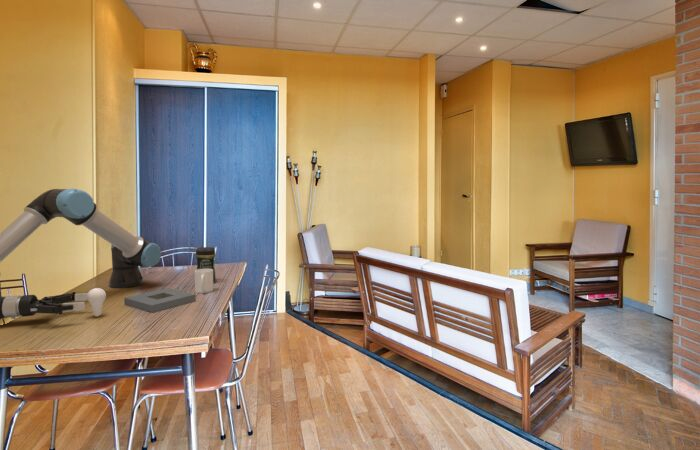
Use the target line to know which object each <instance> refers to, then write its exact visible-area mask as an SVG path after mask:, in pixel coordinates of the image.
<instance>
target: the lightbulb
mask: <svg viewBox="0 0 700 450" xmlns="http://www.w3.org/2000/svg"><path fill="white" fill-rule="evenodd" d="M87 293H88V295H87V299H88V300H87V301H88V303H89V304H90V306H91V309H92V312H93V316H94V317H98V318H99V317H100V316H102V309H103V305H104V302H105V300H106V298H107V293H106V291H105V290H104V289H102V288H100V287H95V288H92V289H90V290H89V291H88V292H87Z"/></svg>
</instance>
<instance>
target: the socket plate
mask: <svg viewBox="0 0 700 450" xmlns="http://www.w3.org/2000/svg"><path fill="white" fill-rule="evenodd" d="M196 294H197V293H196ZM196 294H195V293H192V292H187V291H181V290H177V289H173V288H168V287H166V288H162V289H158V290H154V291H150V292H145V293H140V294H135V295H132V296H127V297H124V298H123V299H124V302H123V303H124V306H127V307H131V308H135V309H137V310H141V311H144V312H148V313H150V314H151V313H152V314H153V313H157V312H161V311H163V310H164V311H166V310H168V309H172V308H175V307H178V306H182V305H186V304H190V303H194V302H196V301H197V300H196V299H197V297H196Z"/></svg>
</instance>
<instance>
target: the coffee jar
mask: <svg viewBox="0 0 700 450" xmlns="http://www.w3.org/2000/svg"><path fill="white" fill-rule="evenodd" d="M195 258H196V264H197V265H196V270H197V269H213V284H214V283H216V280H217V279H216V269H215V258H216V250H215V248H214V247H213V246H212V247H210V246H209V247H208V246H207V247H203V246H202V247H197V248H196V250H195Z"/></svg>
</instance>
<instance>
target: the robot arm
mask: <svg viewBox="0 0 700 450" xmlns="http://www.w3.org/2000/svg"><path fill="white" fill-rule="evenodd" d="M55 218H63V219H66V220H67V221H68V222H70V223H72V224H73V225H74V226H81V225H82V226H83V227H85V228H86V229H88V231H89V230H90V231H91V232H92V233H94V234H96V235H97V236H98V237H100V238H101V239H103V240H105V242H108V243H109V244H111V245H110V246H111V248H110V250H111V265H112V266H111V267H112V271H111V274H110V278H109V282H108V285H109V287H110V288H115V289H120V288H121V289H123V288H133V287H137V286H140V285H143V284H144V278H143V276H142V272H141V271H140V269H139V267H144V268H152V267H154V266H156V265H157V264H159V262H160V260H161V258H162V250H161V247H160V246H159V245H158V244H157V243H155V242H149V241H147V240H146V239H144V237H142V236H138V235H137V236H135V235H133V234H132V233H131V232H129V231H128V230H127V229H125V228H123V226H121V225H120V224H119V223H117V222H115V221H114V220H113V219H111V218H110V217H108V216H107V215H105V214H104V213H102V212H101V211H100V210H99V209H98V205H97V204H96V203H95V202H94V199H93V197H92V196H91V195H90V194H89V193H88V192H87V191H84V190H82V189H77V188H63V189H62V188H51V189H49V190H46V191H45V192H43V193H40V194H39V196H37V197H35V198H34V199H33V200H32V201H31V202H30V203H28V204H27V205H26V206H25V207H24V208H23V212H22V213H21V214H20V215H19V216H18V217H17V218H15V220H14V221H12V222H11V223H10V224H9V225H8V226H6V228H4V229H3V230H2V231H1V232H0V263H1V262H3V261H4V260H5V259H6V258H7V257H8V256H9V255H10V254H11V253H12V252H13V251H15V250H16V249H17V248H18V247H19V246H20V245H21V244H23V242H24V241H25V240H27V238H29V237H30V236H31V235H32V234H33V233H34V232H35V231H36V230H38V229H39V228H40V227H41V226H42V225H47V224H48V223H49V222H50V221H52V220H53V219H55ZM0 276H1V273H0ZM1 284H2V283H1V282H0V319H5V318H6V319H7V318H10V319H13V320H14V319H15V318H18V317H32V316H34V315H36V314H52V315H57V314H58V315H62V314H63V313H64V312H72V311H83V310H84V311H85V310H86V306H85V304H86V303H85V301H88V299H87V295H88V293H89V292H85V293H84V292H83V293H76V291H73V292H71V293H64V294H57V295H56V294H55V295H50V296H44V297H43V298H41V299H39V298H38V297H37V296H36V294H23V295H9V296H7V295H6V296H2V287H1Z"/></svg>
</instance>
